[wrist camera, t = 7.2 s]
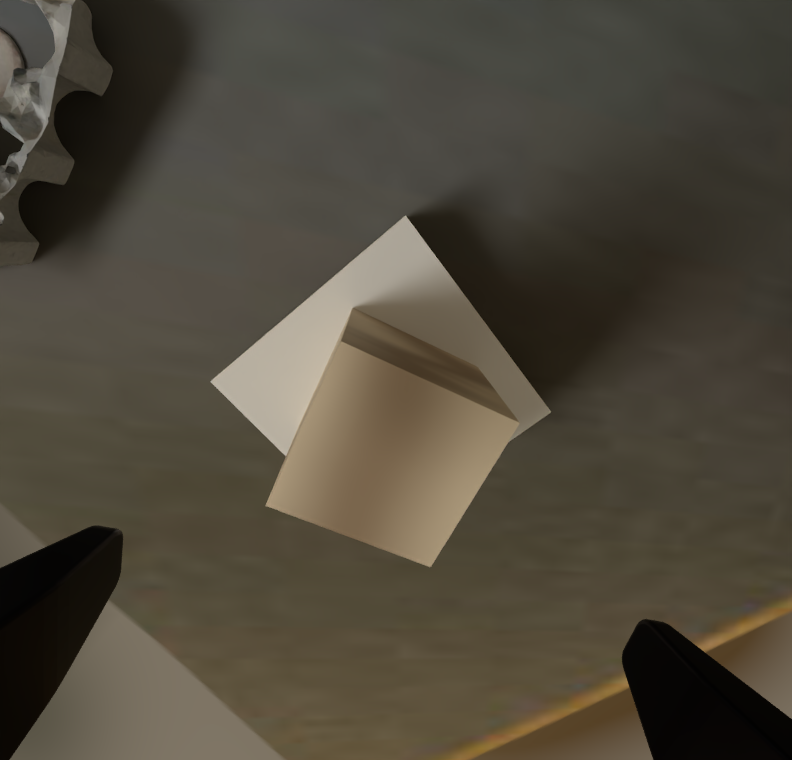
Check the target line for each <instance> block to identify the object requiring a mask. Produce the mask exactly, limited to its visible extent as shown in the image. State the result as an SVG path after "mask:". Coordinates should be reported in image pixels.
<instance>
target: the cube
mask: <svg viewBox="0 0 792 760" xmlns="http://www.w3.org/2000/svg"><path fill="white" fill-rule="evenodd" d="M519 424H520V422H519V421H518V420H517V418H516V417H515V416H514V414H513V413H512V412H511V410H510V409H509V408H508V406H507V405H506V404H505V402H504V401H503V400H502V398H501V397H500V396H499V394H498V393H497V392H496V390H495V389H494V388H493V386H492V385H491V384H490V382H489V381H488V380H487V378H486V377H485V376H484V374H483V373H482V372H481V371H480V369H479V368H478V367H477V366H475V365H473V364H471V363H469V362H467V361H465V360H462V359H460V358H458V357H456V356H454V355H452V354H450V353H448V352H446V351H443V350H441V349H439V348H437V347H435V346H433V345H431V344H429V343H427V342H424V341H422V340H420V339H418V338H416V337H414V336H412V335H410V334H408V333H405V332H403V331H401V330H399V329H397V328H395V327H393V326H391V325H389V324H386V323H384V322H382V321H380V320H378V319H376V318H374V317H372V316H370V315H367V314H365V313H363V312H361V311H359V310H357V309H355V308H352V310H351V312H350V315H349V317H348V319H347V321H346V323H345V326H344V328H343V330H342V332H341V334H340V336H339V339H338V341H337V343H336V345H335V347H334V350H333V352H332V354H331V356H330V358H329V361H328V363H327V365H326V367H325V369H324V372H323V374H322V376H321V378H320V380H319V382H318V385H317V387H316V389H315V391H314V393H313V396H312V398H311V400H310V402H309V404H308V407H307V409H306V411H305V413H304V415H303V418H302V420H301V422H300V424H299V426H298V429H297V431H296V434H295V436H294V438H293V441H292V443H291V446H290V448H289V450H288V453H287V455H286V458H285V460H284V462H283V465H282V467H281V470H280V472H279V475H278V477H277V479H276V482H275V484H274V487H273V489H272V491H271V494H270V496H269V499H268V501H267V504H266V506H268V507H271V508H273V509H276V510H279V511H281V512H284V513H287V514H289V515H292V516H295V517H297V518H300V519H303V520H305V521H308V522H311V523H313V524H316V525H319V526H322V527H324V528H327V529H330V530H332V531H335V532H338V533H340V534H343V535H346V536H348V537H351V538H354V539H356V540H359V541H362V542H364V543H367V544H370V545H372V546H375V547H378V548H380V549H383V550H386V551H389V552H391V553H394V554H397V555H399V556H402V557H405V558H407V559H410V560H413V561H415V562H418V563H421V564H423V565H426V566H429V567H431V566H432V564H433V562H434V561H435V559H436V558H437V556H438V554H439V553H440V551H441V550H442V548H443V546H444V545H445V543H446V541H447V540H448V538H449V537H450V535H451V533H452V532H453V530H454V529H455V527H456V525H457V524H458V522H459V521H460V519H461V517H462V516H463V514H464V513H465V511H466V509H467V508H468V506H469V504H470V503H471V501H472V500H473V498H474V496H475V495H476V493H477V492H478V490H479V488H480V487H481V485H482V484H483V482H484V480H485V479H486V477H487V475H488V474H489V472H490V471H491V469H492V467H493V466H494V464H495V463H496V461H497V459H498V458H499V456H500V455H501V453H502V451H503V450H504V448H505V447H506V445H507V443H508V442H509V440H510V438H511V437H512V435H513V434H514V432H515V430H516V429H517V427H518V426H519Z"/></svg>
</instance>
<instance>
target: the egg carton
mask: <svg viewBox="0 0 792 760" xmlns="http://www.w3.org/2000/svg"><path fill="white" fill-rule="evenodd" d="M21 1H23V2H26V3H30V4H33V5H38V6H39V7H40V9H41V10H42V12H43V13H44V15H45V16H46V18H47V19H48V22H49V24H50V26H51V28H52V31H53V33H54V40H55V53H54V55H53V57H52V58H51V59H50V60H49V61H48V62H47V63H46V64H45V65H44V67H43V69H40V68H33V67H31V68H28V69H25V66H24V61H23V58H22V55H21V53H20V51H19V49H18V47H17V45H16V44H15V42H14V41H13V39H12V38H11V37H10V36H9V35H8V34H6V33H5V32H4V31H3V30H1V29H0V121H1V124H2V127H3V128H4V129H5V130H6V131H8V132H9V133H11V134H12V135H13V136H15V137H16V138H18V139H19V140H20V141H22V142H23V143H24V144H23V146H22V148H21V151H19V152H16V153H12V154H10V155H9V157H8V160H7V163H6V165H2V166H0V266H8V265H23V264H30V263H31V262H32V261H33V259H34V256H35V254H36V251H37V249H38V246H39V242H38V241H37V240H36V238H35V237H34V236H33V235H32V234H31V233H30V232H29V231H28V230H27V228H26V227H25V225H24V223H23V222H22V219H21V217H20V214H19V208H18V203H19V198H20V195H21V194H22V191H23V190H24V188H25V187H26V186H27V185H28V184H30V183H32V182H34V181H45V182H49V183H54V184H60V185H64V184H65V183H66V182H67V180H68V177H69V175H70V173H71V170H72V168H73V166H74V159H73V158H72V157H71V155H70V154H69V153H68V152H67V151H66V149H65V148H64V147H63V146H62V144H61V143H60V140H59V138H58V136H57V134H56V130H55V127H54V112H55V109H56V105H57V103H58V102H59V101H60V100H61V99H62V98H63V97H64V96H65V95H67V94H68V93H70V92H73V91H90V92H93V93H95V94H97V95H99V96H102V95H103V94H104V92H105V91H106V89H107V87H108V85H109V83H110V80H111V76H112V73H113V69H112V66H111V65H110V64H109V63H108V62H107V61H106V60H105V59H104V58H103V57H102V55H101V54H100V52H99V51H98V49H97V47H96V45H95V42H94V39H93V34H92V14H91V12H90V10H89V8H88V6H87V5H86V3H85V2H83V1H82V0H21ZM7 166H11V167H15V170H16V173H15V174H9V173H7V172H5V170H6V168H7Z"/></svg>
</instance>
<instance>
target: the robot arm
mask: <svg viewBox="0 0 792 760" xmlns="http://www.w3.org/2000/svg"><path fill="white" fill-rule="evenodd" d="M122 548H123V534H122V532H121V531H120V530H119V529H115V528H110V527H104V526H91V527H88V528H86V529H84V530H82V531H80V532H77V533H75V534H73V535H71V536H69V537H67V538H64V539H62V540H60V541H58V542H56V543H54V544H51V545H49V546H47V547H45V548H43V549H41V550H38V551H36V552H34V553H32V554H30V555H27V556H25V557H23V558H21V559H19V560H17V561H14V562H13V563H10V564H8V565H6V566H4V567H1V568H0V760H9V759H10V758H11V757H12V755H13V754H14V753H15V751H16V750H17V748H18V747H19V745H20V744H21V742H22V741H23V739H24V738H25V737H26V735H27V734H28V732H29V731H30V729H31V728H32V726H33V725H34V724H35V722H36V721H37V719H38V718H39V716H40V715H41V713H42V712H43V710H44V709H45V707H46V706H47V704H48V703H49V701H50V700H51V698H52V697H53V695H54V694H55V692H56V691H57V689H58V687H59V686H60V684H61V682H62V681H63V679H64V677H65V675H66V674H67V672H68V670H69V669H70V667H71V665H72V663H73V661H74V660H75V658H76V656H77V654H78V653H79V651H80V649H81V647H82V645H83V643H84V642H85V640H86V638H87V637H88V635H89V633H90V631H91V629H92V628H93V626H94V624H95V622H96V620H97V619H98V617H99V615H100V614H101V612H102V610H103V608H104V606H105V605H106V603H107V601H108V599H109V598H110V596H111V594H112V592H113V591H114V589H115V587H116V585H117V582H118V580H119V577H120V573H121V563H122ZM622 664H623V668H624V671H625V675H626V678H627V681H628V684H629V687H630V690H631V693H632V696H633V699H634V702H635V705H636V708H637V711H638V714H639V718H640V720H641V723H642V727H643V730H644V733H645V736H646V739H647V742H648V745H649V748H650V751H651V754H652V757H653V760H792V719H791V718H789V717H788V716H787V715H786V714H784V713H783V712H782V711H780V710H779V709H778V708H776V707H775V706H774V705H773V704H771V703H770V702H769V701H767V700H766V699H765V698H763V697H762V696H761V695H760V694H758V693H757V692H756V691H754V690H753V689H752V688H750V687H749V686H748V685H746V684H745V683H744V682H742V681H741V680H740V679H738V678H737V677H736V676H735V675H734V674H732V673H731V672H730V671H728V670H727V669H726V668H724V667H723V666H721V664H719V663H718V662H717V661H715V660H714V659H713V658H711V657H710V656H709V655H707V654H706V653H705V652H704V651H702V650H701V649H700V648H698V647H697V646H696V645H695V644H693V643H692V642H691V641H689V640H688V639H687V638H685V637H684V636H683V635H682V634H680V633H679V632H678V631H676V630H675V629H674V628H672V627H671V626H670V625H668V624H666V623H664V622H660V621H654V620H648V619H644V620H641V621H640V622H639V623H638V624H637V626H636V628H635V629H634V631H633V633H632V635H631V637H630V639H629V641H628V642H627V644H626V646H625V648H624V650H623V654H622Z"/></svg>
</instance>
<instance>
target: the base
mask: <svg viewBox="0 0 792 760" xmlns="http://www.w3.org/2000/svg"><path fill="white" fill-rule="evenodd" d="M352 308H355V309H357V310H359V311H361V312H363V313H365V314H367V315H370V316H372V317H374V318H376V319H378V320H380V321H382V322H384V323H386V324H389V325H391V326H393V327H395V328H397V329H399V330H401V331H403V332H405V333H408V334H410V335H412V336H414V337H416V338H418V339H420V340H422V341H424V342H427V343H429V344H431V345H433V346H435V347H437V348H439V349H441V350H443V351H446V352H448V353H450V354H452V355H454V356H456V357H458V358H460V359H462V360H465V361H467V362H469V363H471V364H473V365H475V366H477V367H478V368H479V369H480V371H481V372H482V373H483V374H484V376H485V377H486V378H487V380H488V381H489V382H490V384H491V385H492V386H493V388H494V389H495V390H496V392H497V393H498V394H499V396H500V397H501V398H502V400H503V401H504V402H505V404H506V405H507V406H508V408H509V409H510V410H511V412H512V413H513V414H514V416H515V417H516V418H517V420H518V421H519V422H520V424H519V426H518V427H517V429H516V430H515V432H514V434H513V435H512V437H511V438H510V440H509V441H511V440H512V439H514V438H515V437H516V436H518V435H519V434H521V433H522V432H524V431H525V430H526V429H528V428H529V427H531V426H532V425H534V424H535V423H536V422H538V421H539V420H541V419H542V418H543V417H545V416H546V415H548V414H549V413H551V411H550V410H549V408H548V407H547V406H546V404H545V403H544V402H543V400H542V399H541V398H540V396H539V395H538V394H537V392H536V391H535V390H534V388H533V387H532V385H531V384H530V383H529V381H528V380H527V379H526V377H525V376H524V375H523V373H522V372H521V371H520V369H519V368H518V367H517V365H516V364H515V363H514V361H513V360H512V358H511V357H510V356H509V354H508V353H507V352H506V350H505V349H504V348H503V346H502V345H501V344H500V342H499V341H498V340H497V338H496V337H495V336H494V334H493V333H492V331H491V330H490V329H489V327H488V326H487V325H486V323H485V322H484V321H483V319H482V318H481V317H480V315H479V314H478V313H477V311H476V310H475V309H474V307H473V306H472V304H471V303H470V302H469V300H468V299H467V298H466V296H465V295H464V294H463V292H462V291H461V290H460V288H459V287H458V286H457V284H456V283H455V282H454V280H453V279H452V277H451V276H450V275H449V273H448V272H447V271H446V269H445V268H444V267H443V265H442V264H441V263H440V261H439V260H438V259H437V257H436V256H435V254H434V253H433V252H432V250H431V249H430V248H429V246H428V245H427V244H426V242H425V241H424V240H423V238H422V237H421V236H420V234H419V233H418V232H417V230H416V229H415V227H414V226H413V225H412V223H411V222H410V221H409V219H408V218H407V217H406V216H404V217H403V218H401V219H400V220H399V221H398V222H397V223H395V224H394V225H393V226H392V227H391V228H390V229H388V230H387V231H386V232H385V233H384V234H382V235H381V236H380V237H379V238H378V239H377V240H375V241H374V242H373V243H372V244H371V245H370V246H368V247H367V248H366V249H365V250H364V251H363V252H361V253H360V254H359V255H358V256H357V257H355V258H354V259H353V260H352V261H351V262H350V263H348V264H347V265H346V266H345V267H344V268H343V269H341V270H340V271H339V272H338V273H337V274H335V275H334V276H333V277H332V278H331V279H330V280H328V281H327V282H326V283H325V284H324V285H323V286H321V287H320V288H319V289H318V290H317V291H316V292H314V293H313V294H312V295H311V296H310V297H308V298H307V299H306V300H305V301H304V302H303V303H301V304H300V305H299V306H298V307H297V308H296V309H294V310H293V311H292V312H291V313H290V314H288V315H287V316H286V317H285V318H284V319H283V320H281V321H280V322H279V323H278V324H277V325H276V326H274V327H273V328H272V329H271V330H270V331H269V332H267V333H266V334H265V335H264V336H263V337H261V338H260V339H259V340H258V341H257V342H256V343H254V344H253V345H252V346H251V347H250V348H249V349H247V350H246V351H245V352H244V353H243V354H242V355H240V356H239V357H238V358H237V359H236V360H234V361H233V362H232V363H231V364H230V365H229V366H228V367H226V368H225V369H224V370H223V371H222V372H221V373H220V374H218V375H217V376H216V377H215V378H214V379H213V380H212V381H210V382H211V383H212V384H213V385H214V386H215V387H216V388H217V389H218V390H219V391H220V392H221V393H222V394H223V395H224V396H225V397H226V398H227V399H228V400H229V401H230V402H231V403H232V404H233V405H234V406H235V407H236V408H237V409H239V410H240V411H241V412H242V413H243V414H244V415H245V416H246V417H247V418H248V419H249V420H250V421H251V422H252V423H253V424H254V425H255V426H256V427H257V428H258V429H259V430H260V431H261V432H262V433H263V434H264V435H265V436H266V437H267V438H268V439H269V440H270V441H271V442H272V443H273V444H274V445H275V446H276V447H277V448H278V449H279V450H280V451H281V452H282V453H283V454H284V455H285V456H286V455H287V453H288V450H289V448H290V446H291V443H292V441H293V438H294V436H295V434H296V431H297V429H298V426H299V424H300V422H301V420H302V418H303V415H304V413H305V411H306V409H307V407H308V404H309V402H310V400H311V398H312V396H313V393H314V391H315V389H316V387H317V385H318V382H319V380H320V378H321V376H322V374H323V372H324V369H325V367H326V365H327V363H328V361H329V358H330V356H331V354H332V352H333V350H334V347H335V345H336V343H337V341H338V339H339V336H340V334H341V332H342V330H343V328H344V326H345V323H346V321H347V319H348V317H349V315H350V312H351V310H352Z"/></svg>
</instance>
